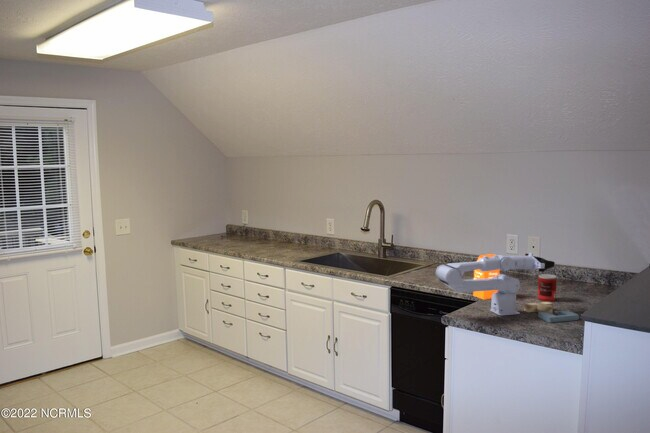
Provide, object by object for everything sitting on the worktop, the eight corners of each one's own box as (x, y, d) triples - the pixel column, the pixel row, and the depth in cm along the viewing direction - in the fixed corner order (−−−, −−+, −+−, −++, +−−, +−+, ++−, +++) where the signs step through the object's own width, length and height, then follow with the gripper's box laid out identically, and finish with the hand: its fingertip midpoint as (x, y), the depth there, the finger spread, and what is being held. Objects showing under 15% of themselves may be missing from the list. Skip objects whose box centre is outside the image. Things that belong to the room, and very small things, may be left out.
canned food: (550, 297, 250) (551, 273, 248) (559, 301, 242) (559, 277, 240) (534, 297, 249) (535, 274, 248) (542, 301, 241) (543, 277, 240)
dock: (549, 322, 210) (549, 317, 210) (538, 317, 217) (538, 312, 217) (578, 319, 214) (578, 314, 214) (566, 314, 221) (566, 310, 220)
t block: (535, 315, 220) (535, 308, 220) (523, 310, 228) (524, 303, 227) (560, 313, 223) (560, 306, 223) (548, 308, 231) (548, 301, 230)
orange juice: (473, 295, 253) (474, 254, 251) (488, 293, 256) (489, 252, 254) (483, 299, 246) (484, 256, 244) (499, 297, 249) (500, 255, 247)
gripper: (532, 256, 217) (560, 256, 221) (510, 249, 231) (537, 249, 234) (530, 273, 218) (558, 273, 221) (509, 265, 231) (535, 265, 235)
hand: (547, 262), depth 228 cm, fingers open, 7 cm apart
